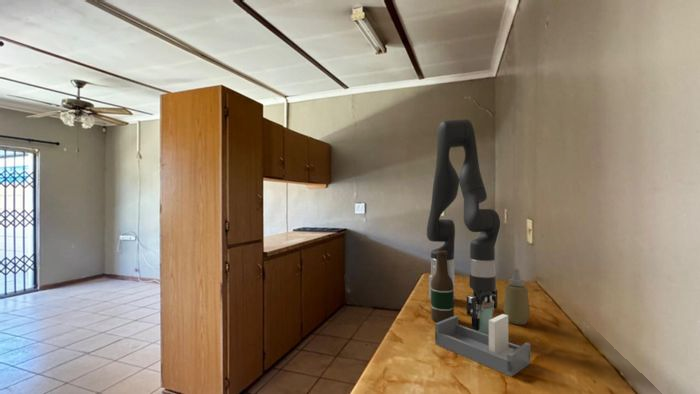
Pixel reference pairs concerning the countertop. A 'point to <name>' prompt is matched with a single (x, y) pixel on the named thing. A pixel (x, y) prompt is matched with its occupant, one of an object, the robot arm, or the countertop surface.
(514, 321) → the squeeze bottle
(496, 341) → the pusher
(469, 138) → the robot arm
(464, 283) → the countertop surface
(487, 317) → the jar
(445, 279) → the beer bottle
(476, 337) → the gray rectangular tray
